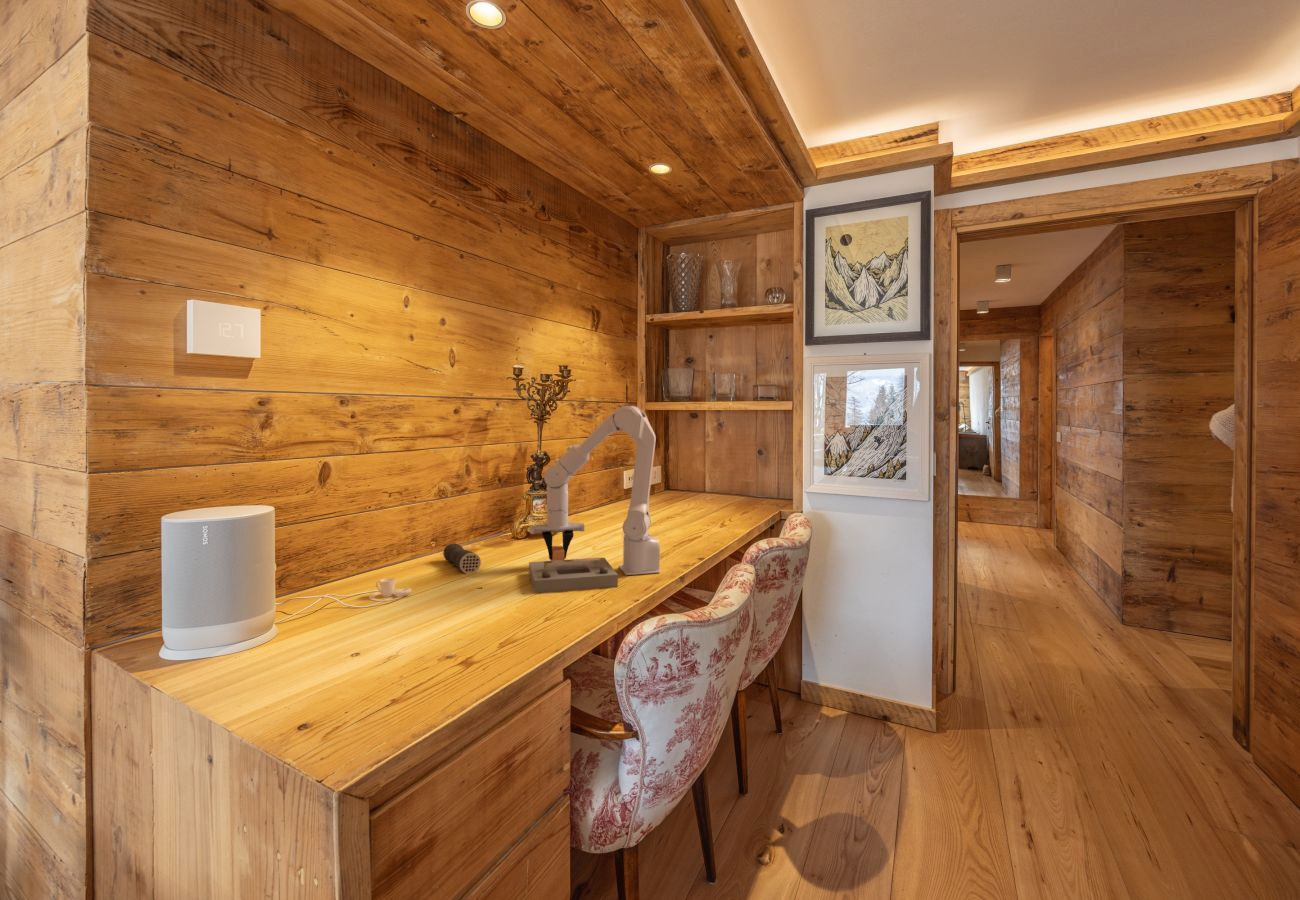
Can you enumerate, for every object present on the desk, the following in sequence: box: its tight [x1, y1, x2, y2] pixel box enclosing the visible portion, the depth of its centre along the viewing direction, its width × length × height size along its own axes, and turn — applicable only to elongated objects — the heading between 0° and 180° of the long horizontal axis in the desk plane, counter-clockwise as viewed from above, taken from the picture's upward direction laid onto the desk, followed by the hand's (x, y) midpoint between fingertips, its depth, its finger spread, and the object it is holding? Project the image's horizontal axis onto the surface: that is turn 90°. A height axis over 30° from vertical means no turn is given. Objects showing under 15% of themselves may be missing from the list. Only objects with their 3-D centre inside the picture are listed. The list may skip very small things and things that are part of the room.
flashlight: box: [442, 542, 482, 575], centre depth 154 cm, size 15×5×5 cm, turn 38°
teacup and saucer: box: [368, 577, 412, 602], centre depth 130 cm, size 9×8×4 cm
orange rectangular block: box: [550, 544, 565, 561], centre depth 155 cm, size 3×6×5 cm, turn 16°
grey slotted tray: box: [528, 557, 619, 594], centre depth 143 cm, size 20×16×5 cm
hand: (557, 558), depth 155 cm, fingers closed on orange rectangular block, 3 cm apart
